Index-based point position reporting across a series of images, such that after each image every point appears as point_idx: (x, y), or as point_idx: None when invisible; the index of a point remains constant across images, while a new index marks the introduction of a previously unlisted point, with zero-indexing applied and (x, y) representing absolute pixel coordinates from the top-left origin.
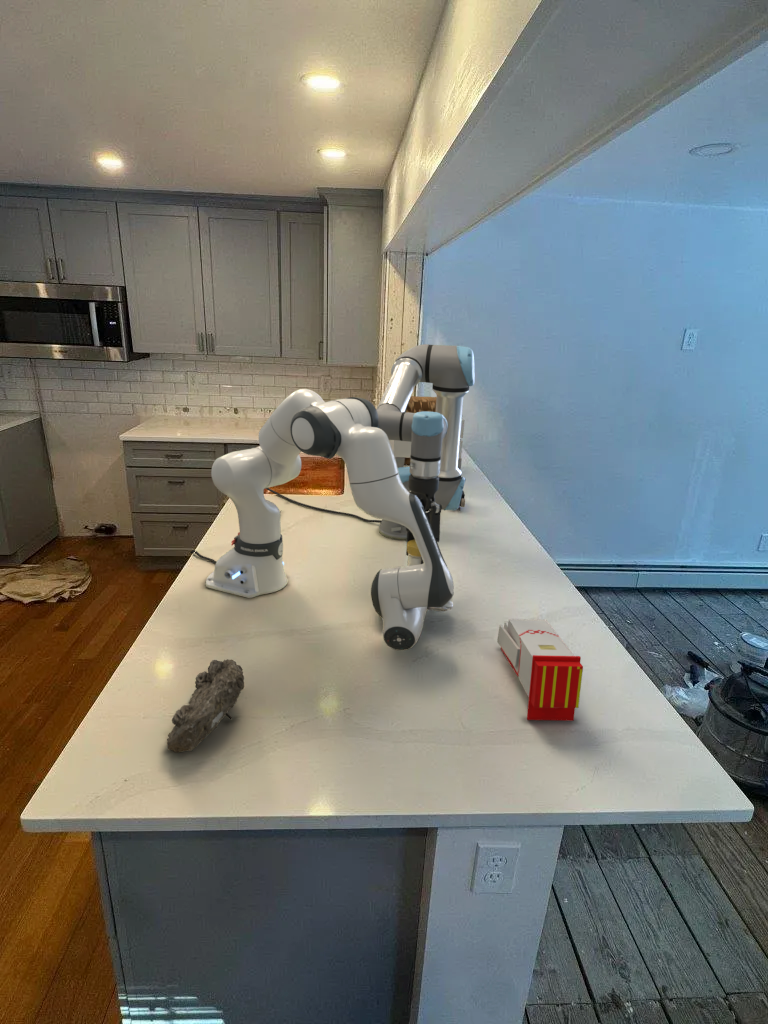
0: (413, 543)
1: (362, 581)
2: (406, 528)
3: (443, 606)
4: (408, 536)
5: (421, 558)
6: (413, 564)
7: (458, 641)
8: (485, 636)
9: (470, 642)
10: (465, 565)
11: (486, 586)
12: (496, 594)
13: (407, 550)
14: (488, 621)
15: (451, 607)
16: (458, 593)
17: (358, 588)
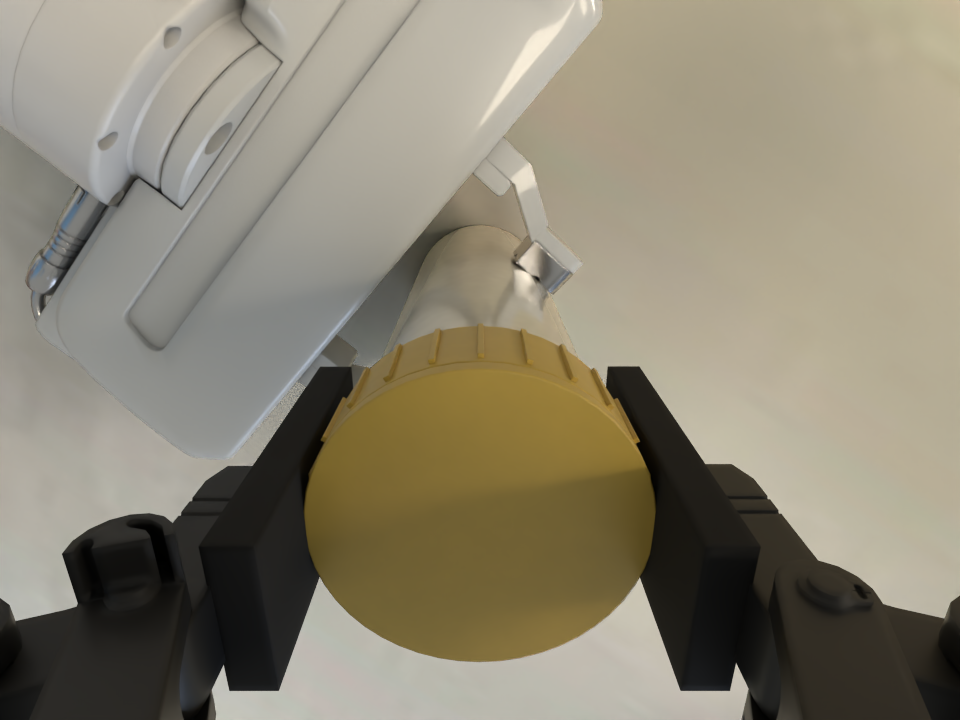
0: (531, 469)
1: (904, 128)
2: (843, 594)
3: (36, 277)
4: (695, 503)
5: (327, 400)
6: (422, 319)
7: (25, 263)
8: (42, 410)
9: (3, 313)
10: (688, 716)
11: (463, 676)
12: (379, 668)
13: (523, 336)
14: (168, 502)
15: (42, 330)
16: None
17: (841, 44)
